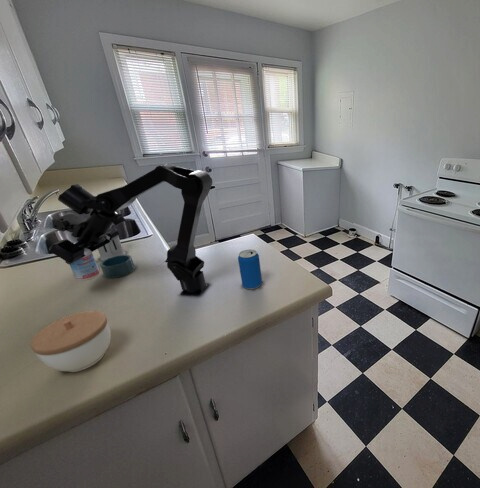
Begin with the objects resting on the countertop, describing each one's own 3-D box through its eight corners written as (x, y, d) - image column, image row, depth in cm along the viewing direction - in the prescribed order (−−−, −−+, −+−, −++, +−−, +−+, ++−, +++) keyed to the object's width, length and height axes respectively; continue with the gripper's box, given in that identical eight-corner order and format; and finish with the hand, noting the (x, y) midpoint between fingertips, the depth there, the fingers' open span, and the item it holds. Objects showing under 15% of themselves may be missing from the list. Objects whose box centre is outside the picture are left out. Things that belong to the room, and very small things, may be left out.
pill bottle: (87, 282, 83) (72, 249, 78) (71, 280, 84) (55, 248, 80) (105, 272, 88) (92, 241, 84) (90, 271, 90) (76, 240, 85)
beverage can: (266, 282, 92) (262, 250, 87) (254, 292, 87) (249, 259, 82) (251, 278, 94) (246, 247, 90) (238, 287, 89) (232, 255, 84)
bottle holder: (140, 265, 104) (137, 255, 103) (122, 278, 96) (117, 267, 94) (118, 264, 105) (114, 254, 103) (97, 277, 97) (93, 266, 95)
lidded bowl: (43, 393, 55) (17, 353, 50) (53, 354, 64) (32, 317, 60) (119, 363, 61) (102, 325, 57) (118, 332, 71) (103, 297, 66)
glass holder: (123, 249, 118) (112, 217, 112) (129, 260, 108) (117, 225, 102) (99, 255, 113) (85, 222, 107) (103, 267, 103) (88, 231, 97)
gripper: (96, 197, 85) (76, 230, 90) (39, 216, 68) (18, 256, 73) (129, 220, 88) (108, 251, 93) (82, 243, 71) (59, 280, 76)
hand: (76, 258), depth 84 cm, fingers closed on pill bottle, 6 cm apart
